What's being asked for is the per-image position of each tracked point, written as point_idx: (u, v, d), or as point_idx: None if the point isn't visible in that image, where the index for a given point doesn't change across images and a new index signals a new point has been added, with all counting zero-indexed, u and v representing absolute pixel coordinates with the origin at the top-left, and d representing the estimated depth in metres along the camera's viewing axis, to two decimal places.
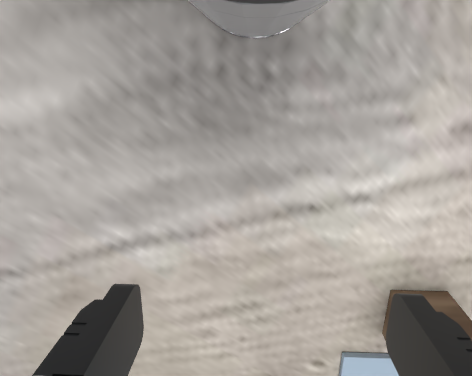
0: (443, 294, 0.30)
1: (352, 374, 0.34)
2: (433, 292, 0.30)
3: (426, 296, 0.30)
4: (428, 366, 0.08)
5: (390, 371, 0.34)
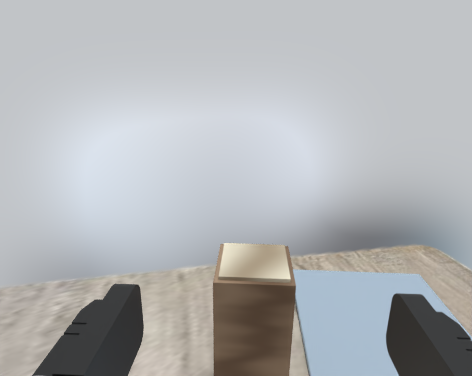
0: None
1: None
2: None
3: None
4: (428, 366, 0.08)
5: None
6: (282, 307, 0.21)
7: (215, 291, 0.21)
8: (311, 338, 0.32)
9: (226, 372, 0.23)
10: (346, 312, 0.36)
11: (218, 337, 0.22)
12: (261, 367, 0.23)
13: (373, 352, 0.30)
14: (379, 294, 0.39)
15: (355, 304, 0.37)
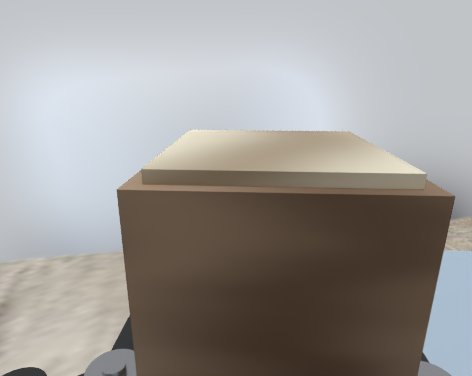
0: None
1: None
2: None
3: None
4: None
5: None
6: (386, 289, 0.05)
7: (129, 227, 0.05)
8: None
9: None
10: None
11: None
12: None
13: None
14: (471, 282, 0.23)
15: (437, 299, 0.21)
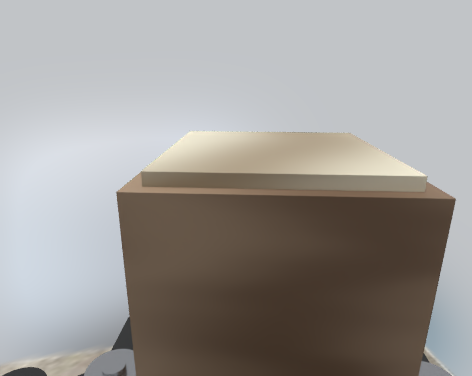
0: None
1: None
2: None
3: None
4: None
5: None
6: (387, 292, 0.05)
7: (128, 230, 0.05)
8: None
9: None
10: None
11: None
12: None
13: None
14: None
15: None
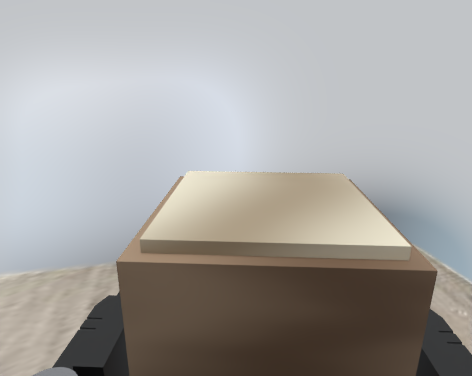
0: None
1: None
2: None
3: None
4: None
5: None
6: (373, 352, 0.06)
7: (128, 295, 0.06)
8: None
9: None
10: None
11: None
12: None
13: None
14: None
15: None
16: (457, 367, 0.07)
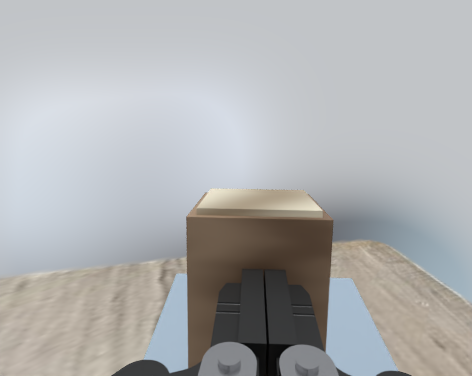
0: None
1: None
2: None
3: None
4: (266, 327, 0.10)
5: None
6: (309, 264, 0.12)
7: (190, 234, 0.12)
8: None
9: None
10: None
11: (196, 326, 0.12)
12: None
13: None
14: None
15: None
16: (289, 331, 0.09)
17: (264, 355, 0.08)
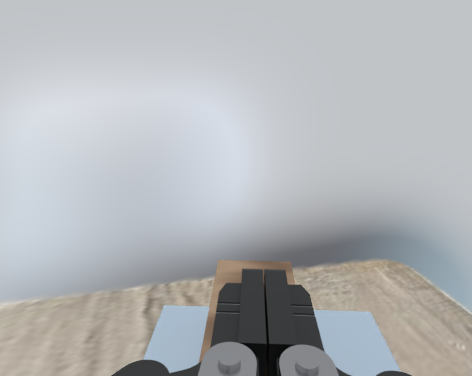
0: None
1: None
2: None
3: None
4: (266, 327, 0.10)
5: None
6: None
7: (219, 264, 0.23)
8: None
9: None
10: None
11: (217, 295, 0.20)
12: None
13: None
14: None
15: None
16: (289, 331, 0.09)
17: (264, 355, 0.08)
